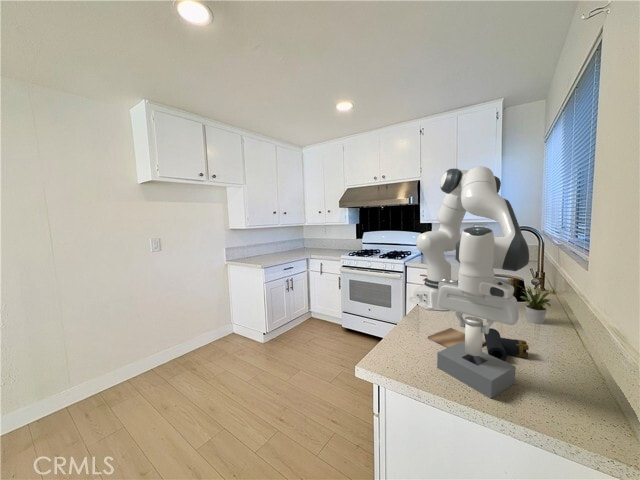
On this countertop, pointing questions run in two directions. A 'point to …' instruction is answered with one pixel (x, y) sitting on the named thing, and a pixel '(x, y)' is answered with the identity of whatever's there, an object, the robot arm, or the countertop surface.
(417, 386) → the countertop surface
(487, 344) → the pipe connector
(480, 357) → the socket block
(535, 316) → the house plant
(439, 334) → the pad
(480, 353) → the plug
